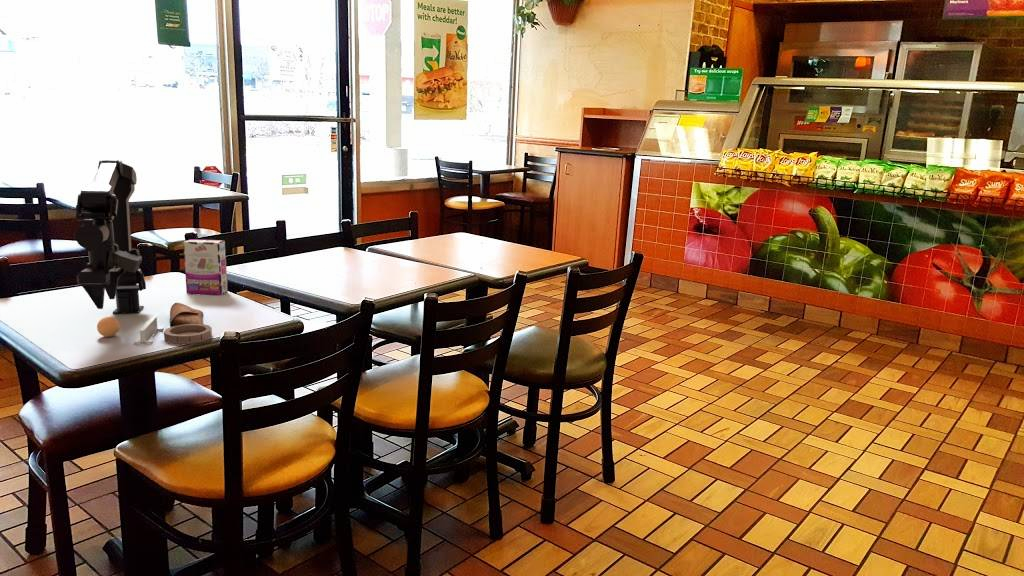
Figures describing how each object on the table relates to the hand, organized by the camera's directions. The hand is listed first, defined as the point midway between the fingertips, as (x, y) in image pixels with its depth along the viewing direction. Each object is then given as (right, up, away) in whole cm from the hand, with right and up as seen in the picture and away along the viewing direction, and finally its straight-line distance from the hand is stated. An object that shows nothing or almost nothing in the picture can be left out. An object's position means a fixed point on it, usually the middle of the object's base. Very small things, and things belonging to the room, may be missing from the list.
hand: (106, 303), depth 186 cm
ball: (0, -8, +2) cm, 8 cm away
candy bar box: (+6, +2, +47) cm, 47 cm away
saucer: (+19, -9, +3) cm, 21 cm away
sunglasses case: (+13, -6, +16) cm, 21 cm away
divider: (+9, -8, +3) cm, 13 cm away
